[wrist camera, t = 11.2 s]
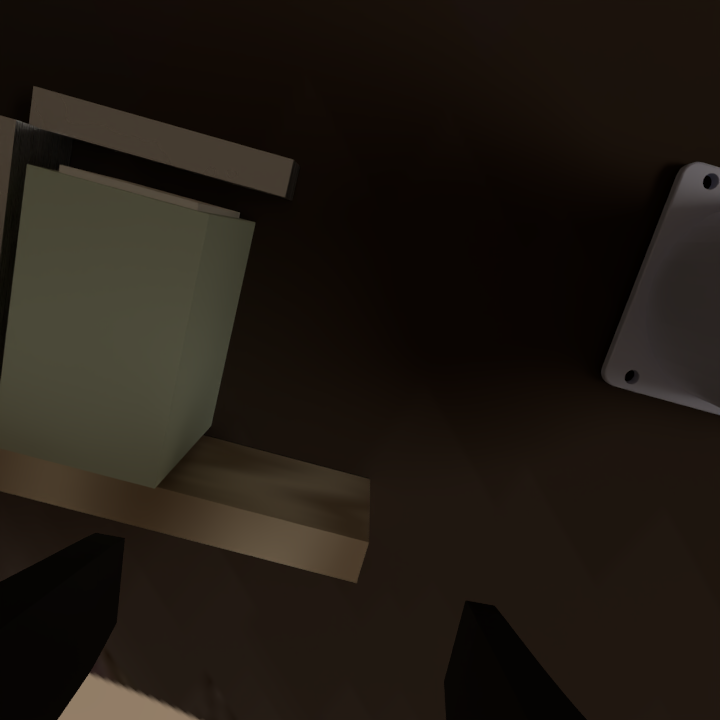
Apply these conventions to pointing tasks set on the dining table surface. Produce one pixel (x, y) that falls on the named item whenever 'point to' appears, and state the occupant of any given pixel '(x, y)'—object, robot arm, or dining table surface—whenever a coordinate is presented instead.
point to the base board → (222, 503)
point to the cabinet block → (117, 323)
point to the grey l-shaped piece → (121, 134)
